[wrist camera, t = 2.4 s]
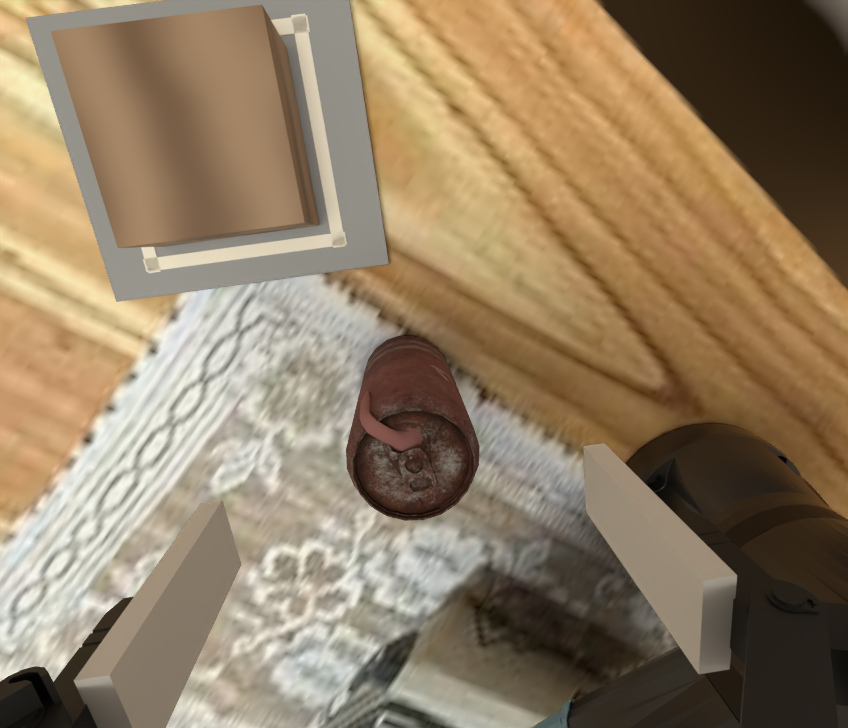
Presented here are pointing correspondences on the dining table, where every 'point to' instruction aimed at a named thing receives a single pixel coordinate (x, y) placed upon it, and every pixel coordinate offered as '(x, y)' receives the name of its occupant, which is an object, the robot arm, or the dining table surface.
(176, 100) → the walnut plinth
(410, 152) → the dining table surface
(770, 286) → the dining table surface
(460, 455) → the can
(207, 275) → the grey base plate
